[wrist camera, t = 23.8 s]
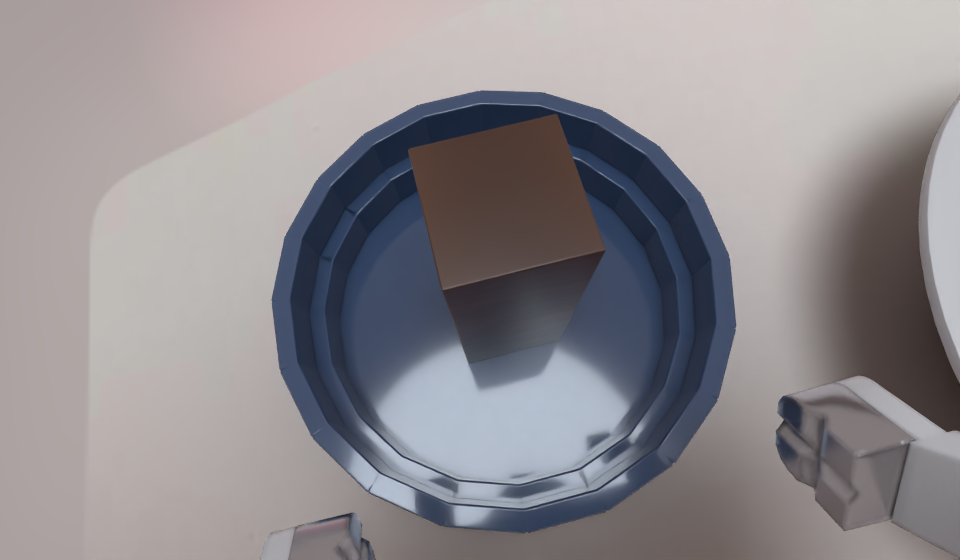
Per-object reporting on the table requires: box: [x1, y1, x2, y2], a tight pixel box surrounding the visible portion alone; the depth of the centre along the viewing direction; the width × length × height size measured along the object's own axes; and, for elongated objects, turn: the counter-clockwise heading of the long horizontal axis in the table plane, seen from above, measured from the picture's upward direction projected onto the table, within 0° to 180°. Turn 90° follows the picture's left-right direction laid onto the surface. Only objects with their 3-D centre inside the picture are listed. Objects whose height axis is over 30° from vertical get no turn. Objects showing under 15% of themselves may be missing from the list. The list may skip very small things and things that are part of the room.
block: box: [408, 114, 606, 363], centre depth 17 cm, size 4×4×10 cm
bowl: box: [272, 91, 736, 533], centre depth 20 cm, size 16×16×4 cm
